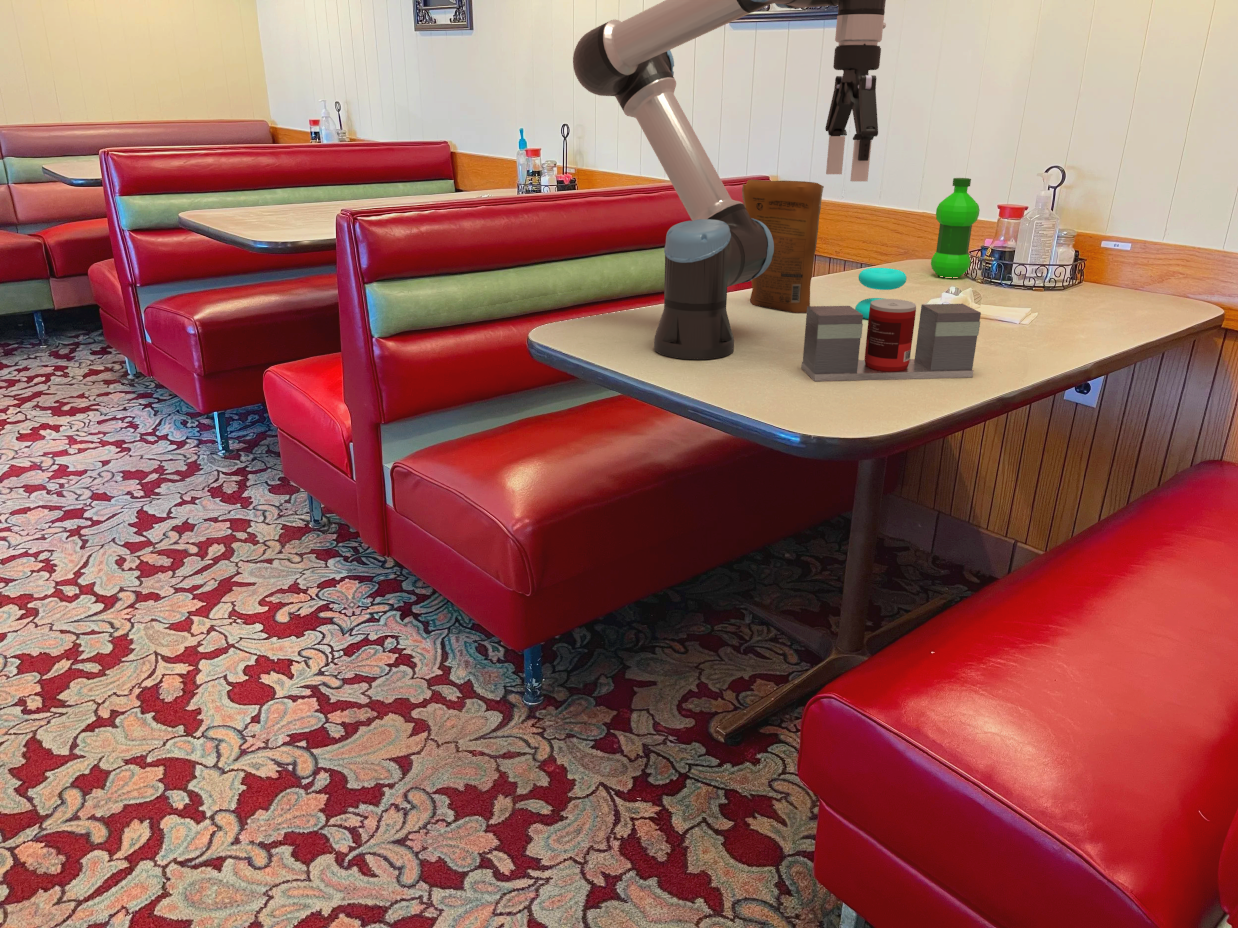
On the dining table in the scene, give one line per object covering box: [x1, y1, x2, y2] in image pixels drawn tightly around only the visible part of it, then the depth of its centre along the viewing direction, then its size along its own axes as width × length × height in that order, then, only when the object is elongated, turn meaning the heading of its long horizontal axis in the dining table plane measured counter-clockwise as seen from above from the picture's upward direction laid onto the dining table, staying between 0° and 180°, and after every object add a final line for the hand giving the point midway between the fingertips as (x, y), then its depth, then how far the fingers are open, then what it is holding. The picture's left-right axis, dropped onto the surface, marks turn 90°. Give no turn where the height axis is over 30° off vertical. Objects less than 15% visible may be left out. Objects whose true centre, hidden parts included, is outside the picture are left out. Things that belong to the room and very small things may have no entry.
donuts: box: [854, 267, 907, 320], centre depth 201 cm, size 10×10×10 cm
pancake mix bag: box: [741, 179, 824, 314], centre depth 205 cm, size 7×19×28 cm, turn 46°
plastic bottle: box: [930, 177, 980, 278], centre depth 241 cm, size 10×10×25 cm
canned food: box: [864, 298, 917, 372], centre depth 160 cm, size 8×8×11 cm
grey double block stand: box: [801, 303, 982, 382], centre depth 160 cm, size 28×8×11 cm, turn 96°
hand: (845, 178), depth 162 cm, fingers open, 13 cm apart
